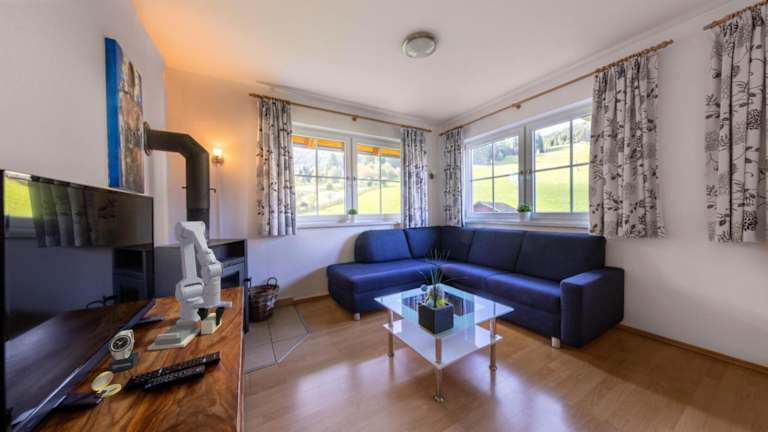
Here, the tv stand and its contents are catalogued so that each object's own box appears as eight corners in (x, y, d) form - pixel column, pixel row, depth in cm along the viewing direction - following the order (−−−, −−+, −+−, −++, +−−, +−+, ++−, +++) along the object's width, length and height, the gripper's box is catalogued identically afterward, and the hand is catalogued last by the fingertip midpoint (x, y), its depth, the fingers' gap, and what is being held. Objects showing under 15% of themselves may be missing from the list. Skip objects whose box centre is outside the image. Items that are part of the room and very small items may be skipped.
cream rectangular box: (210, 324, 110) (211, 313, 110) (221, 323, 111) (221, 312, 111) (201, 334, 101) (201, 321, 101) (212, 333, 102) (212, 321, 102)
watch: (105, 377, 75) (105, 339, 74) (117, 362, 82) (117, 328, 82) (131, 371, 77) (131, 335, 77) (140, 358, 84) (141, 325, 84)
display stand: (171, 331, 103) (171, 320, 103) (202, 329, 105) (202, 318, 105) (147, 350, 89) (147, 337, 89) (184, 346, 92) (184, 334, 92)
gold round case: (106, 398, 66) (106, 379, 66) (89, 396, 67) (89, 377, 67) (125, 387, 71) (125, 369, 70) (109, 385, 71) (109, 367, 71)
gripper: (187, 296, 101) (186, 331, 101) (228, 294, 104) (227, 328, 104) (195, 291, 107) (195, 323, 108) (234, 289, 111) (233, 321, 111)
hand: (211, 325), depth 106 cm, fingers closed on cream rectangular box, 4 cm apart
